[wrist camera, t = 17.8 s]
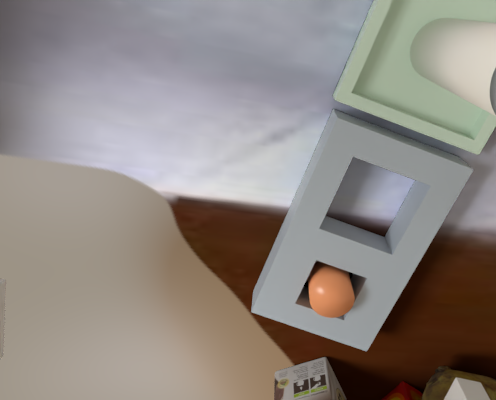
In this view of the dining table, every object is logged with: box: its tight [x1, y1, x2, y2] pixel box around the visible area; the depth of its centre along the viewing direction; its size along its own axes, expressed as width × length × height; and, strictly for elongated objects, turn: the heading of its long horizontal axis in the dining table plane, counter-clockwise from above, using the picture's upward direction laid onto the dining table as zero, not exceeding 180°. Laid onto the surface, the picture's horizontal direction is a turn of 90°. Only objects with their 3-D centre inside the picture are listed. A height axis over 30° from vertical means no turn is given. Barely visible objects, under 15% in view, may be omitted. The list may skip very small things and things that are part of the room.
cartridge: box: [410, 18, 496, 116], centre depth 30 cm, size 5×5×17 cm
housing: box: [251, 109, 474, 351], centre depth 43 cm, size 12×20×4 cm, turn 160°
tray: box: [333, 0, 496, 155], centre depth 37 cm, size 13×13×2 cm
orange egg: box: [308, 261, 355, 318], centre depth 44 cm, size 4×4×4 cm
